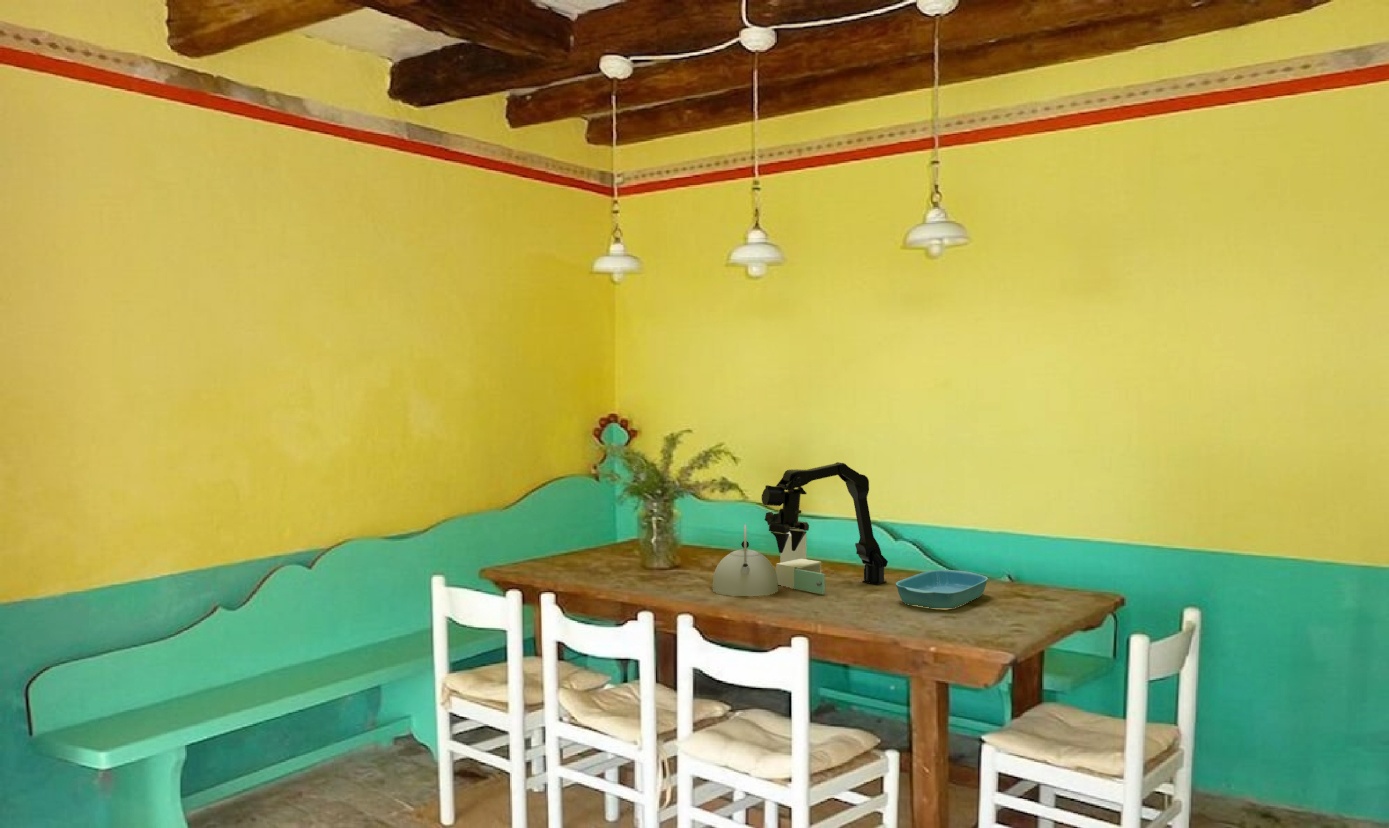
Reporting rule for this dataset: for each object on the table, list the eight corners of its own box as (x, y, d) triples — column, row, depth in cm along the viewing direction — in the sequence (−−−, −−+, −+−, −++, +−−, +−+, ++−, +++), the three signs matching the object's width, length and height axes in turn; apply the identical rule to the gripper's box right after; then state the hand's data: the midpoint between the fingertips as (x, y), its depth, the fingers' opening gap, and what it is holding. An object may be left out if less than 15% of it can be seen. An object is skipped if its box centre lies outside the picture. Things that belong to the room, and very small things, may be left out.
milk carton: (796, 577, 366) (796, 525, 365) (780, 574, 370) (780, 523, 369) (806, 573, 371) (806, 523, 370) (790, 571, 375) (790, 521, 375)
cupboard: (821, 583, 355) (821, 561, 354) (795, 589, 345) (795, 567, 344) (801, 579, 361) (801, 558, 361) (775, 585, 351) (775, 563, 351)
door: (791, 589, 343) (791, 569, 342) (796, 588, 344) (796, 568, 344) (820, 594, 334) (820, 574, 334) (824, 593, 336) (824, 573, 335)
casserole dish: (949, 617, 306) (949, 594, 306) (884, 606, 321) (884, 584, 320) (997, 596, 335) (997, 574, 334) (936, 587, 349) (936, 566, 349)
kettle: (779, 599, 330) (779, 531, 329) (711, 598, 331) (711, 531, 331) (776, 583, 355) (776, 520, 354) (713, 582, 356) (713, 520, 355)
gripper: (783, 502, 354) (779, 546, 354) (757, 504, 339) (753, 550, 339) (811, 506, 348) (807, 551, 348) (786, 508, 332) (781, 555, 333)
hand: (787, 551), depth 342 cm, fingers open, 9 cm apart
